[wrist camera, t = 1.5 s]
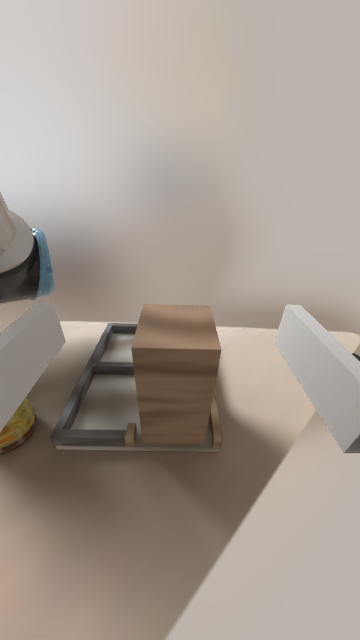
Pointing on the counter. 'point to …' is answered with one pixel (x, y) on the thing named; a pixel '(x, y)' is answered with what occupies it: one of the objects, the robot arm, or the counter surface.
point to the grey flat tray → (115, 404)
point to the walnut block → (175, 372)
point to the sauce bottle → (18, 427)
